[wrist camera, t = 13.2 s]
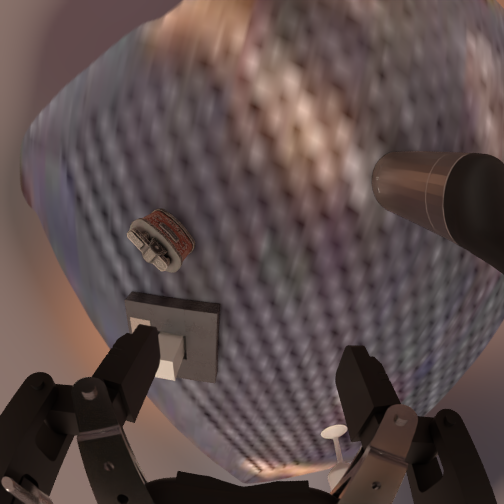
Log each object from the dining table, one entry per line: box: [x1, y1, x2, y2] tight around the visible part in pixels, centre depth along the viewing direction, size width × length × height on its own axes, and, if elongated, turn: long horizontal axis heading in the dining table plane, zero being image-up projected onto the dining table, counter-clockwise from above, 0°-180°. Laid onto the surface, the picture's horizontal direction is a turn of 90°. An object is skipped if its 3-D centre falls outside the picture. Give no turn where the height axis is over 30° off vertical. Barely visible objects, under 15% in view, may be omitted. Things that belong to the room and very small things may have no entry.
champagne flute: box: [321, 425, 350, 491], centre depth 42 cm, size 7×7×24 cm
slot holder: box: [125, 292, 220, 383], centre depth 43 cm, size 15×15×3 cm
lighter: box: [127, 209, 195, 272], centre depth 34 cm, size 8×3×10 cm, turn 43°
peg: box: [155, 332, 186, 381], centre depth 40 cm, size 4×4×9 cm
